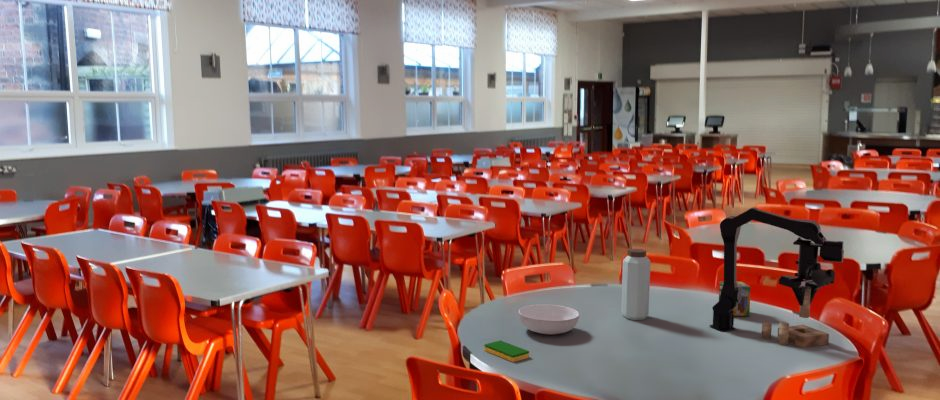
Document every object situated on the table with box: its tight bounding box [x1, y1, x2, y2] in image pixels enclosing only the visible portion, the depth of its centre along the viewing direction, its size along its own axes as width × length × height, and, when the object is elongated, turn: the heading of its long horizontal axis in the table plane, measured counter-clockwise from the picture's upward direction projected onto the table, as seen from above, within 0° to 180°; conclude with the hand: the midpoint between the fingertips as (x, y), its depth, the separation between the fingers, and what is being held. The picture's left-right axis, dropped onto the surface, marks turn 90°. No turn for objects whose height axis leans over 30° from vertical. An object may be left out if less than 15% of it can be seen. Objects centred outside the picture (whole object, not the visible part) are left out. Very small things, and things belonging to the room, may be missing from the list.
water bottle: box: [620, 248, 651, 321], centre depth 274 cm, size 10×10×25 cm
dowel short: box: [761, 321, 773, 340], centre depth 252 cm, size 3×3×5 cm
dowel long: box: [798, 287, 811, 319], centre depth 247 cm, size 3×3×10 cm
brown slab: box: [777, 324, 830, 349], centre depth 249 cm, size 11×11×4 cm
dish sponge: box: [483, 339, 530, 363], centre depth 234 cm, size 7×14×2 cm, turn 39°
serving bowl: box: [518, 303, 580, 336], centre depth 258 cm, size 21×21×7 cm
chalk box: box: [718, 281, 751, 317], centre depth 281 cm, size 9×9×15 cm
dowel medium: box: [777, 321, 790, 346], centre depth 245 cm, size 3×3×7 cm
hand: (804, 305), depth 247 cm, fingers closed on dowel long, 3 cm apart
